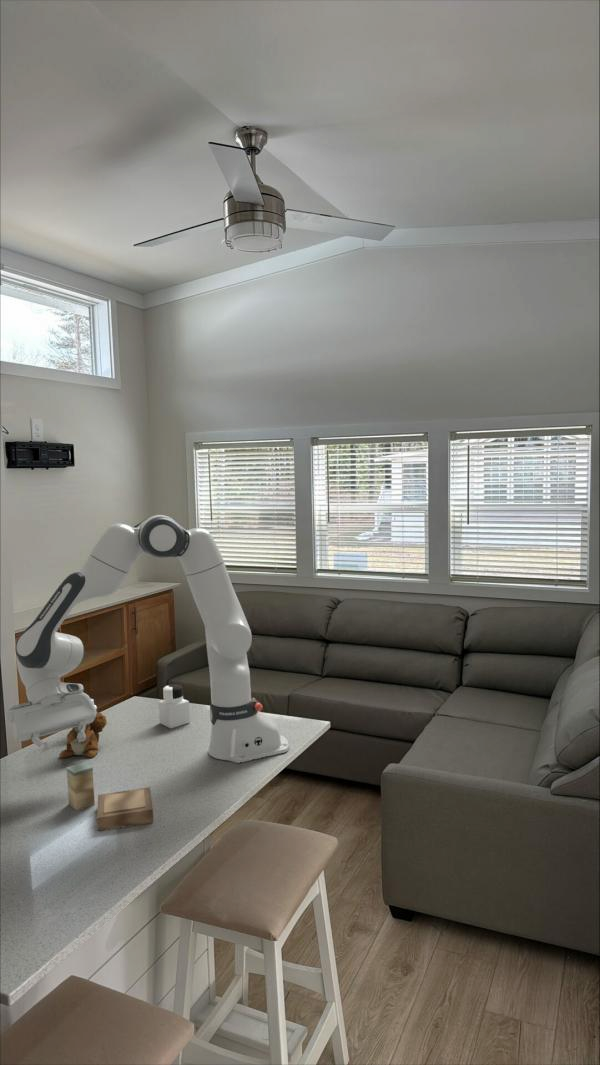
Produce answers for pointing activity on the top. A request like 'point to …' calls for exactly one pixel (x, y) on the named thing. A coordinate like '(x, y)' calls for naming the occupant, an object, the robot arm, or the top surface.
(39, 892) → the top surface
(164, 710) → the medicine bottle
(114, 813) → the base slab
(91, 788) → the tan tall block
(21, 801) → the top surface
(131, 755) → the top surface
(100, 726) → the stuffed squirrel
